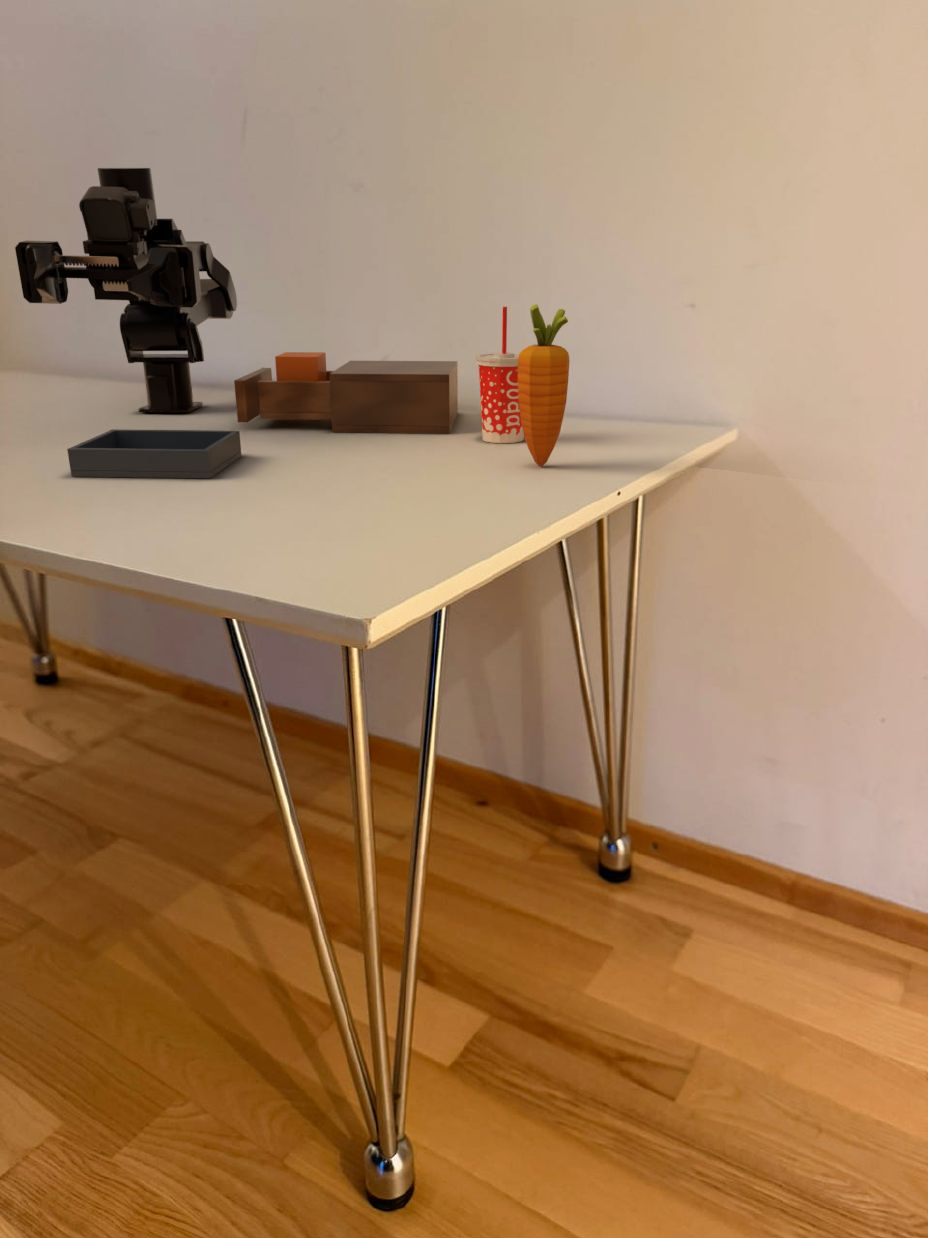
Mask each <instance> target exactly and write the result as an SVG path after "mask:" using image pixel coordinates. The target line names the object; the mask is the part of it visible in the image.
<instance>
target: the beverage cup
mask: <svg viewBox="0 0 928 1238" xmlns="http://www.w3.org/2000/svg"><path fill="white" fill-rule="evenodd" d="M501 323H502V325H501V326H502V327H501V329H502V334H501V343H502V344H501V352H494V353H493V352H492V353H480V354H477V355H476V356H475V359H476V365H478V375H479V376H478V379H479V394H480V395H479V396H480V415H481V434H482V441H484V442H488V443H492V444H513V443H519V442H523V441H524V440H525V437H524V433H523V428H522V422H521V416H520V409H519V400H518V357H519V354H520V353H514V352H507V347H508V346H507V342H508V341H507V340H508V339H507V337H508V336H507V335H508V306H502V321H501Z"/></svg>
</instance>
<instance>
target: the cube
mask: <svg viewBox="0 0 928 1238" xmlns="http://www.w3.org/2000/svg"><path fill="white" fill-rule="evenodd" d="M274 361H275V362H274V363H275V374H276V381H327V373H326V371H327V358H326V352H325V351H324V352H320V351H319V352H313V351H312V352H309V351H306V352H305V351H304V352H303V351H299V352H298V351H297V352H296V351H292V352H291V351H289V352H288V351H285V352H283V353H281V354H278V355H276V356H275V357H274Z"/></svg>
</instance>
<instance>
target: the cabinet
mask: <svg viewBox="0 0 928 1238" xmlns="http://www.w3.org/2000/svg"><path fill="white" fill-rule="evenodd" d="M458 364H459V363H458V361H457V360H349V361H347V362H345V363H344V364H343V365H340V366H339V367H338V368H336V369H334V370H332V371H333V372H331V373H330V374H329V377H330V396H331V416H332V420H331V432H332V433H363V434H364V433H369V434H371V433H374V434H375V433H376V434H379V433H380V434H386V433H387V434H450V433H451V431H452V428H453V426H454V424H455V422H456V419H457V417H458V412H459V408H458V407H459V405H458V403H459V402H458V400H459V399H458V392H459V390H458V385H459V382H458V377H459V376H458V372H459V371H458Z"/></svg>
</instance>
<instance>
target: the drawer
mask: <svg viewBox="0 0 928 1238" xmlns="http://www.w3.org/2000/svg"><path fill="white" fill-rule="evenodd" d="M333 371H334V370H326V373H327V381H277V380H273V374H272V368H271V367H260V368H258V369H257V370H255V371H252V372H250V373H248V374H246V375H243V376H241V377H239V378H237V379H234V380H233V383H234V384H233V386H234V395H235V406H236V419H237V423H249V422H251V421H252V420H254V419H256V418H257V417H259V418H260V420H312V421H313V420H315V421H316V420H320V421H324V420H325V421H328V420H329V421H332V416H331V396H330V377H329V374H330V373H331V372H333Z"/></svg>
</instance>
